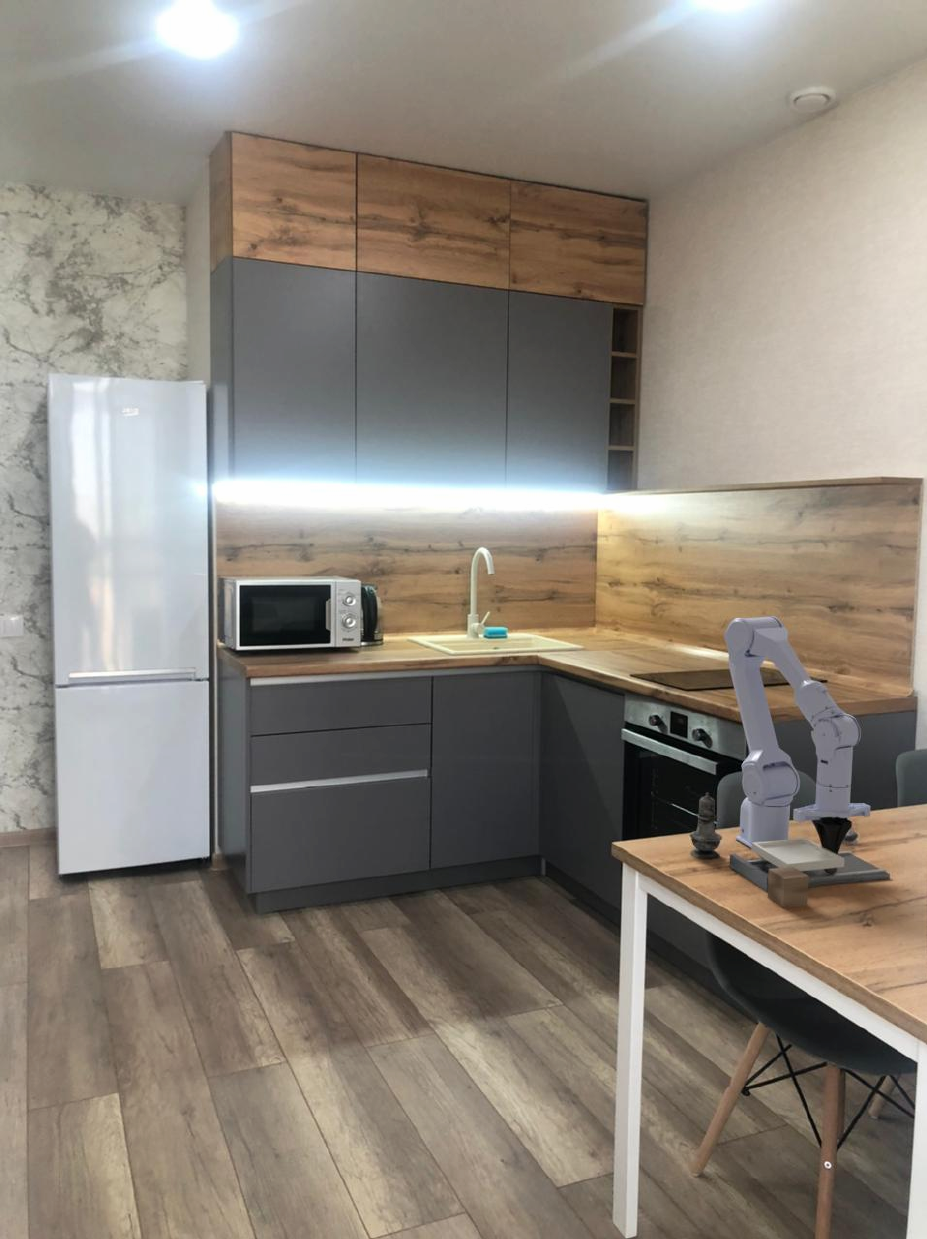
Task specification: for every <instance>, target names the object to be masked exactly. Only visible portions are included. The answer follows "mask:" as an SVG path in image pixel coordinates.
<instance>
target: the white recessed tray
mask: <svg viewBox="0 0 927 1239" xmlns="http://www.w3.org/2000/svg"><path fill="white" fill-rule="evenodd" d="M750 850H751V852H753V853H754V854H755V855H757V856H758V857H759V858H761V859H766V860H767V861H769V862H770V863H772V864H774V865H775V866H777V867H779V868H784V867H794V868H796V869H797V870H799V871H801V872H802V871H809V870H819V869H824V871H825V872H827V873H828V874H830V875H833V874H835V873H836V871H837V868H838V867H844V858H842V857H841V856H839V855H837V854H835V853H833V852H831V851H829V850H827V849H826V848H824V847H822V846H821V844H818V843H816V842H814V841H812V840H810V839H808V838H807V837H799V838H788V840H777V841H766V842H755V843H752V846H751V848H750Z"/></svg>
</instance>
